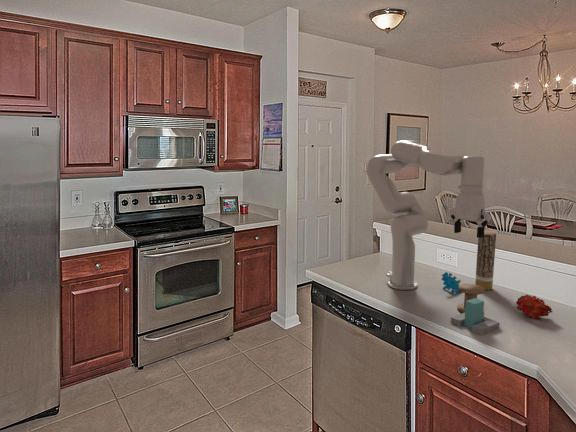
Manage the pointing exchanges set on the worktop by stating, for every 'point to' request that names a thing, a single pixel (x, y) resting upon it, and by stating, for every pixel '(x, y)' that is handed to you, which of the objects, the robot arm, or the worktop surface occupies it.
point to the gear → (450, 282)
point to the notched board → (478, 328)
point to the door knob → (469, 294)
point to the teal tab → (473, 312)
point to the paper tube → (485, 260)
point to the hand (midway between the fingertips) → (468, 234)
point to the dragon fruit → (533, 306)
